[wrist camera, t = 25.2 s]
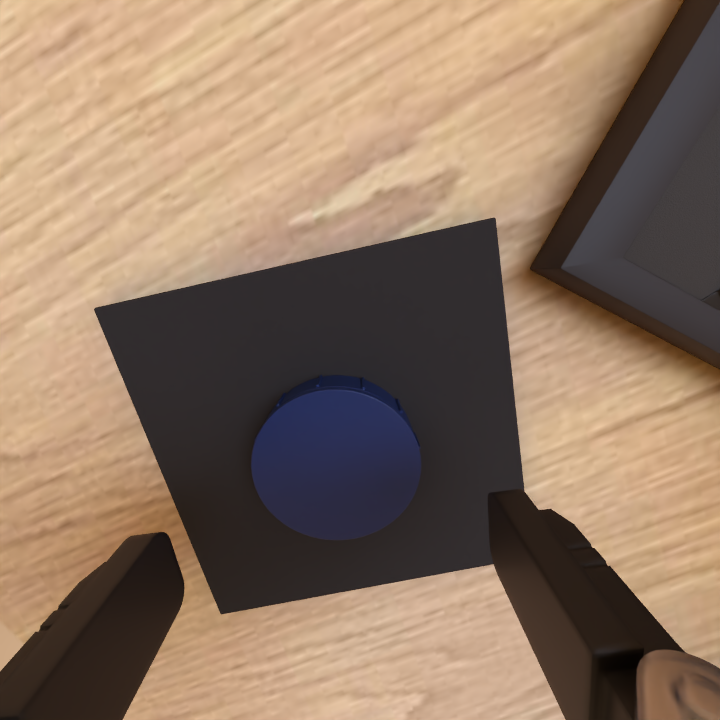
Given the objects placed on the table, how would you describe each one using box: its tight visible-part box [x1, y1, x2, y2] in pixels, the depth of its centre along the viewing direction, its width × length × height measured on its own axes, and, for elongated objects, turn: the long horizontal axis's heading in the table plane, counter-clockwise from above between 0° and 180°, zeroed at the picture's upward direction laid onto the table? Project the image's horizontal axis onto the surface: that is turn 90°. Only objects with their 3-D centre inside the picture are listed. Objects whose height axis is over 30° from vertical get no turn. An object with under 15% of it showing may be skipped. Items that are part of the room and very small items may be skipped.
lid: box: [251, 375, 421, 540], centre depth 12 cm, size 6×6×2 cm
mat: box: [94, 218, 524, 614], centre depth 14 cm, size 14×14×1 cm
